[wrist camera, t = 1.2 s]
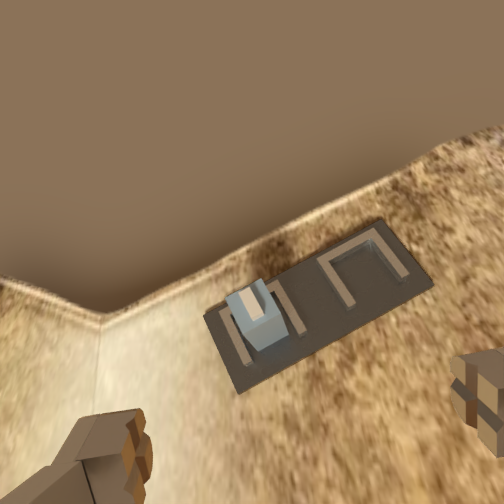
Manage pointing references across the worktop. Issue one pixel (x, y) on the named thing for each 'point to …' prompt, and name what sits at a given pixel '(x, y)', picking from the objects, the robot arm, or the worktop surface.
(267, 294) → the plug
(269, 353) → the panel
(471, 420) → the robot arm
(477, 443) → the worktop surface
